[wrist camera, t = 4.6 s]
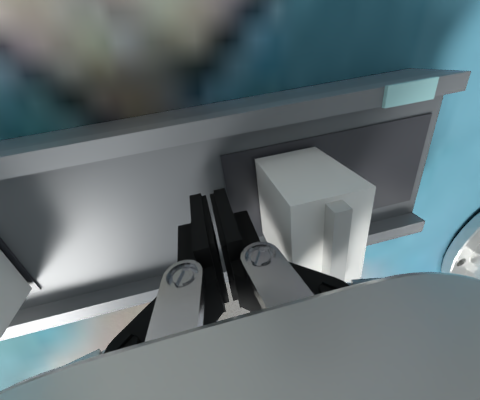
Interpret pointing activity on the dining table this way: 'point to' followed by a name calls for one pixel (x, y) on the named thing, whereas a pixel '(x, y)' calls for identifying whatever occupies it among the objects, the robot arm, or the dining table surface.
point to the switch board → (194, 182)
